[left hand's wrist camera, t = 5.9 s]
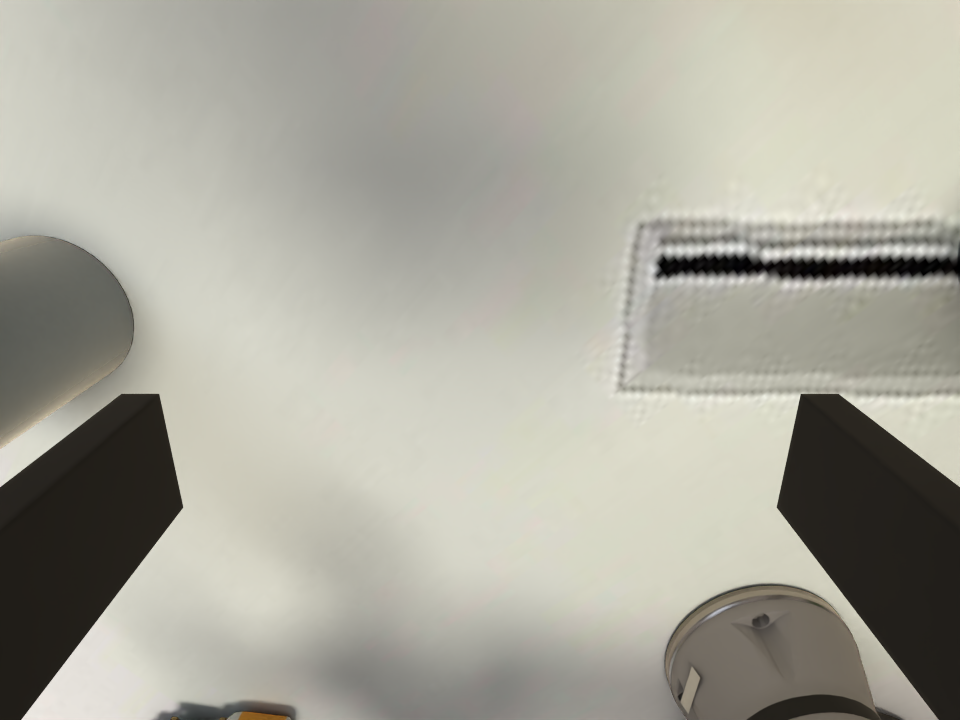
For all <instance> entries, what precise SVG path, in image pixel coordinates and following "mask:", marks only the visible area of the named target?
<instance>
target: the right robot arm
mask: <svg viewBox="0 0 960 720" xmlns="http://www.w3.org/2000/svg"><path fill="white" fill-rule="evenodd" d="M665 671H666V676H667V679H668V683H669V686H670V689H671V691H672V694H673V697H674V699H675V701H676V703H677V704H678V706H679V708H680V710H681V711H682V713H683V714H684V716H685V717H686V718H687V720H899V719H897V718H895V717H892V716H889V715H886V714H883V713H879V712H876V709H875V706H874V702H873V699H872V695H871V692H870V688H869V685H868V682H867V678H866V675H865V671H864V668H863V665H862V662H861V659H860V654H859V650H858V647H857V644H856V642H855V640H854V638H853V636H852V634H851V632H850V630H849V629H848V627H847V626H846V624H845V623H844V622H843V620H842V619H841V617H840V616H839V615H838V613H837V612H836V611H835V610H834V609H833V608H832V607H831V606H830V605H829V604H828V603H827V602H825V601H824V600H823V599H821V598H819V597H818V596H816V595H814V594H811V593H809V592H806V591H803V590H800V589H796V588H792V587H785V586H756V587H750V588H745V589H740V590H736V591H733V592H730V593H727V594H725V595H722V596H720V597H718V598H716V599H713V600H711V601H710V602H708V603H706V604H705V605H703V606H702V607H700V608H699V609H697V610H696V611H695V612H693V613H692V614H691V615H690V616H689V617H688V618H687V619H686V620H685V621H684V622H683V623H682V624H681V625H680V627H679V628H678V629H677V631H676V632H675V634H674V635H673V637H672V639H671V641H670V643H669V646H668V649H667V652H666V658H665Z"/></svg>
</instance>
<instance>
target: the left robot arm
mask: <svg viewBox="0 0 960 720" xmlns="http://www.w3.org/2000/svg"><path fill="white" fill-rule="evenodd" d="M182 508H183V504H182V499H181V495H180V490H179V485H178V481H177V476H176V471H175V467H174V462H173V457H172V452H171V448H170V443H169V438H168V434H167V429H166V424H165V420H164V415H163V410H162V405H161V401H160V396H159V394H121V395H120V396H118V397H117V398H116V399H114V400H113V401H112V402H111V403H109V404H108V405H107V406H105V407H104V408H103V409H101V410H100V411H99V412H98V413H96V414H95V415H94V416H92V417H91V418H90V419H88V420H87V421H86V422H85V423H83V424H82V425H81V426H79V427H78V428H77V429H75V430H74V431H73V432H72V433H70V434H69V435H68V436H66V437H65V438H64V439H62V440H61V441H60V442H59V443H57V444H56V445H55V446H53V447H52V448H51V449H49V450H48V451H47V452H46V453H44V454H43V455H42V456H40V457H39V458H38V459H36V460H35V461H34V462H33V463H31V464H30V465H29V466H27V467H26V468H25V469H23V470H22V471H21V472H20V473H18V474H17V475H16V476H14V477H13V478H12V479H10V480H9V481H8V482H7V483H5V484H4V485H3V486H1V487H0V720H21V719H22V718H23V717H24V715H25V714H26V713H27V711H28V710H29V709H30V707H31V706H32V705H33V704H34V702H35V701H36V700H37V698H38V697H39V696H40V694H41V693H42V692H43V690H44V689H45V688H46V687H47V685H48V684H49V683H50V681H51V680H52V679H53V677H54V676H55V675H56V673H57V672H58V671H59V669H60V668H61V667H62V666H63V664H64V663H65V662H66V660H67V659H68V658H69V656H70V655H71V654H72V652H73V651H74V650H75V649H76V647H77V646H78V645H79V643H80V642H81V641H82V639H83V638H84V637H85V635H86V634H87V633H88V631H89V630H90V629H91V628H92V626H93V625H94V624H95V622H96V621H97V620H98V618H99V617H100V616H101V614H102V613H103V612H104V611H105V609H106V608H107V607H108V605H109V604H110V603H111V601H112V600H113V599H114V597H115V596H116V595H117V593H118V592H119V591H120V590H121V588H122V587H123V586H124V584H125V583H126V582H127V580H128V579H129V578H130V576H131V575H132V574H133V573H134V571H135V570H136V569H137V567H138V566H139V565H140V563H141V562H142V561H143V559H144V558H145V557H146V555H147V554H148V553H149V552H150V550H151V549H152V548H153V546H154V545H155V544H156V542H157V541H158V540H159V538H160V537H161V536H162V535H163V533H164V532H165V531H166V529H167V528H168V527H169V525H170V524H171V523H172V521H173V520H174V519H175V517H176V516H177V515H178V514H179V512H180V511H181V510H182ZM777 508H778V510H779V511H780V512H781V514H782V515H783V516H784V517H785V519H786V520H787V521H788V523H789V524H790V525H791V527H792V528H793V529H794V531H795V532H796V533H797V535H798V536H799V537H800V538H801V540H802V541H803V542H804V544H805V545H806V546H807V548H808V549H809V550H810V552H811V553H812V554H813V555H814V557H815V558H816V559H817V561H818V562H819V563H820V565H821V566H822V567H823V569H824V570H825V571H826V573H827V574H828V575H829V576H830V578H831V579H832V580H833V582H834V583H835V584H836V586H837V587H838V588H839V590H840V591H841V592H842V593H843V595H844V596H845V597H846V599H847V600H848V601H849V603H850V604H851V605H852V607H853V608H854V609H855V611H856V612H857V613H858V614H859V616H860V617H861V618H862V620H863V621H864V622H865V624H866V625H867V626H868V628H869V629H870V630H871V631H872V633H873V634H874V635H875V637H876V638H877V639H878V641H879V642H880V643H881V645H882V646H883V647H884V649H885V650H886V651H887V652H888V654H889V655H890V656H891V658H892V659H893V660H894V662H895V663H896V664H897V666H898V667H899V668H900V669H901V671H902V672H903V673H904V675H905V676H906V677H907V679H908V680H909V681H910V683H911V684H912V685H913V687H914V688H915V689H916V690H917V692H918V693H919V694H920V696H921V697H922V698H923V700H924V701H925V702H926V704H927V705H928V706H929V707H930V709H931V710H932V711H933V713H934V714H935V715H936V717H937V718H938V719H939V720H960V487H959V486H957V485H956V484H955V483H953V482H952V481H951V480H950V479H948V478H947V477H946V476H944V475H943V474H942V473H940V472H939V471H938V470H937V469H935V468H934V467H933V466H931V465H930V464H929V463H927V462H926V461H925V460H924V459H922V458H921V457H920V456H918V455H917V454H916V453H914V452H913V451H912V450H911V449H909V448H908V447H907V446H905V445H904V444H903V443H901V442H900V441H899V440H898V439H896V438H895V437H894V436H892V435H891V434H890V433H888V432H887V431H886V430H885V429H883V428H882V427H881V426H879V425H878V424H877V423H875V422H874V421H873V420H872V419H870V418H869V417H868V416H866V415H865V414H864V413H862V412H861V411H860V410H859V409H857V408H856V407H855V406H853V405H852V404H851V403H849V402H848V401H847V400H846V399H844V398H843V397H842V396H840V395H839V394H801V396H800V401H799V405H798V410H797V415H796V419H795V424H794V429H793V434H792V438H791V443H790V448H789V452H788V457H787V462H786V467H785V471H784V476H783V481H782V485H781V490H780V495H779V499H778V504H777Z"/></svg>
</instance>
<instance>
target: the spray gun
mask: <svg viewBox="0 0 960 720" xmlns="http://www.w3.org/2000/svg"><path fill="white" fill-rule="evenodd" d="M171 720H179V719H178V717H172V718H171ZM219 720H291V718H290V717H287V716H279V715H271V714H262V713H254V712H245V711H242V712H236V713H234V714H232V715H231V716H230V717H229V718H223V717H221V718H220V719H219Z"/></svg>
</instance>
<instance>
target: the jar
mask: <svg viewBox="0 0 960 720" xmlns="http://www.w3.org/2000/svg"><path fill="white" fill-rule="evenodd" d="M132 338H133V317H132V312H131V308H130V305H129V302H128V299H127V297H126V295H125V293H124V291H123V289H122V287H121V286H120V284H119V283H118V281H117V280H116V278H115V277H114V276H113V275H112V273H111V272H110V271H109V270H108V269H107V268H106V267H105V266H104V265H103V264H102V263H101V262H100V261H98V260H97V259H96V258H95V257H94V256H92V255H91V254H89V253H88V252H86V251H85V250H83V249H81V248H79V247H77V246H75V245H73V244H71V243H68V242H66V241H63V240H60V239H56V238H52V237H46V236H22V237H17V238H13V239H9V240H5V241H1V242H0V449H1V448H3V447H4V446H6V445H7V444H8V443H10V442H11V441H13V440H14V439H16V438H17V437H19V436H20V435H21V434H23V433H24V432H26V431H27V430H29V429H30V428H32V427H33V426H35V425H36V424H37V423H39V422H40V421H42V420H43V419H45V418H46V417H48V416H49V415H51V414H52V413H53V412H55V411H56V410H58V409H59V408H61V407H62V406H64V405H65V404H66V403H68V402H69V401H71V400H72V399H74V398H75V397H77V396H78V395H80V394H81V393H82V392H84V391H85V390H87V389H88V388H90V387H91V386H93V385H94V384H95V383H97V382H98V381H100V380H101V379H103V378H104V377H106V376H107V375H109V374H110V373H111V372H113V371H114V370H115V369H116V368H117V367H118V366H119V365H120V364H121V363H122V362H123V360H124V359H125V357H126V356H127V354H128V351H129V349H130V347H131V343H132Z"/></svg>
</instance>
